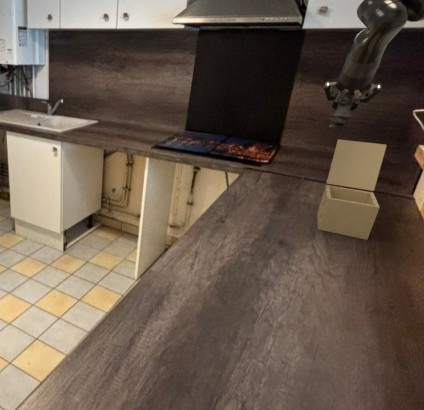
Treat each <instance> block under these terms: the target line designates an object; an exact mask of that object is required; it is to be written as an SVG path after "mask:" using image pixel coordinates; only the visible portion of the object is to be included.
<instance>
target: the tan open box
mask: <svg viewBox="0 0 424 410" xmlns="http://www.w3.org/2000/svg"><path fill="white" fill-rule="evenodd" d="M380 208H381V207H380V204H379V203H378V200H377V198H376V196H375V193H374V191H368V190H364V191H361V190H354V189H348V188H342V187H339V186H337V185H330V184H325V187H324V190H323V194H322V197H321V200H320V203H319V206H318V210H317V213H316V218H317V221H316V222H317V231H318V230H319V231H322V232H323V231H324V232H328V233H333V234H337V235H342V236H347V237H352V238H356V239H361V240H365V241H368V239H369V237H370V234H371V232H372V229H373V226H374V224H375V221H376V219H377V215H378V214H379V210H380Z"/></svg>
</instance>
